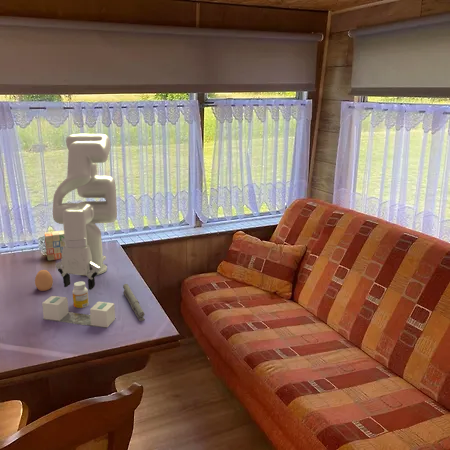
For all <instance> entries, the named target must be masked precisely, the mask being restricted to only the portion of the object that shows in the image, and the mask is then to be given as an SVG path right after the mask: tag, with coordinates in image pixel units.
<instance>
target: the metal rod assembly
mask: <svg viewBox="0 0 450 450" xmlns="http://www.w3.org/2000/svg"><path fill="white" fill-rule="evenodd" d="M122 288H123V294H124V296H125V298H126V299H127V301H128V304H129V305H130V307H131V310H132V311H133V312H134V314H135V315H136V317H137V319H138V321H139V322H143V321H145V318H144V317H145V315H146V314H145V312H144V310H143V308H142V306H141V305H140V302H139V300H138V299H137V298H136V296H135V294H134V293H133V291H132V289H131V287H130V286H129V284H128V283H124V284H123V287H122Z"/></svg>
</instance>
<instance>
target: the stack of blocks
mask: <svg viewBox="0 0 450 450" xmlns="http://www.w3.org/2000/svg"><path fill="white" fill-rule="evenodd" d="M43 234H44V243H45V251H46V258H47V261H53V260H62V250H63V246H65V242H62V238H65V237H64V229H63V230H56V231H55V230H53V231H45V232H44V233H43Z"/></svg>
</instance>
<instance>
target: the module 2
mask: <svg viewBox="0 0 450 450" xmlns="http://www.w3.org/2000/svg"><path fill="white" fill-rule="evenodd" d="M89 313H90V314H89V315H90V316H91V325H94V326H101V327H100V328H102V327H107V328H108V327H109V326H110V325H111V324H112V323H113V322H114V321H115V320H116V319H115V318H116V307H115V303H113V302H108V301H107V302H106V301H96V302H95V304H94V305H93V306H92V307H91V308H90V309H89ZM94 326H93V327H94Z"/></svg>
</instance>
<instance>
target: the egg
mask: <svg viewBox="0 0 450 450" xmlns="http://www.w3.org/2000/svg"><path fill="white" fill-rule="evenodd" d="M53 284H54V279H53V275H52V273H50V272H49V270H47V269H41V270H39V271H38V272H37V274H36V275H35V278H34V285H35V287H36V288H37V289H38V290H39V291H41V292H44V291H49V290H50V289H52V287H53Z"/></svg>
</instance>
